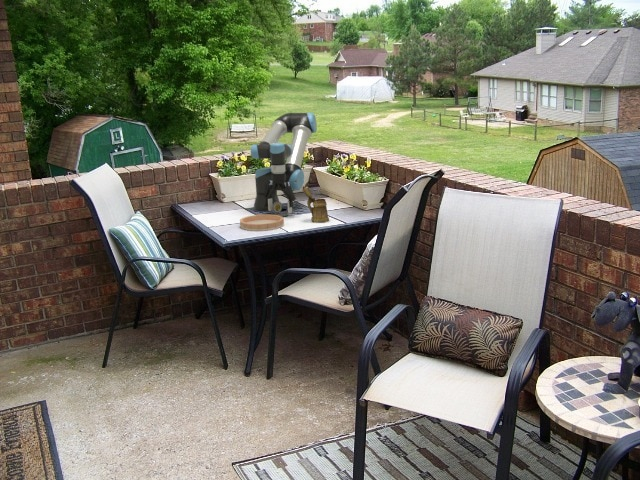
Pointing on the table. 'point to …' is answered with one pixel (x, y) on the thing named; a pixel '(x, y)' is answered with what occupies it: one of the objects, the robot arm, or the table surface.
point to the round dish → (261, 222)
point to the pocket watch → (278, 208)
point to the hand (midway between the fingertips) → (280, 211)
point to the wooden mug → (317, 208)
